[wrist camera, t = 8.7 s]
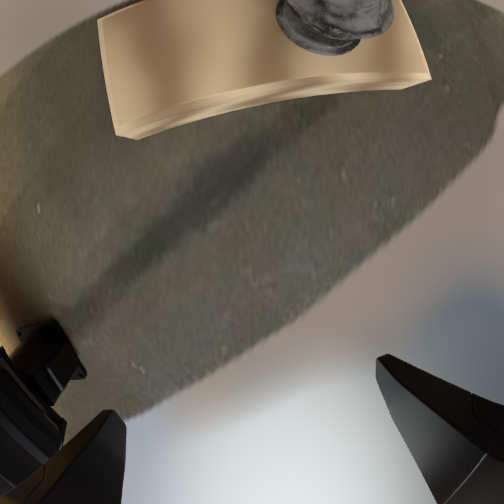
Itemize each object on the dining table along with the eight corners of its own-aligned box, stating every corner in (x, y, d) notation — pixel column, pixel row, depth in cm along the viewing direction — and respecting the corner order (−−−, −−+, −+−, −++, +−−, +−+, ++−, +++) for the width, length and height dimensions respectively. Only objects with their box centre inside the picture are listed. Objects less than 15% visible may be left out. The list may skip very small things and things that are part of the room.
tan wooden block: (137, 139, 17) (114, 134, 13) (117, 40, 15) (95, 18, 11) (401, 89, 17) (433, 78, 13) (369, 1, 15) (392, -21, 11)
